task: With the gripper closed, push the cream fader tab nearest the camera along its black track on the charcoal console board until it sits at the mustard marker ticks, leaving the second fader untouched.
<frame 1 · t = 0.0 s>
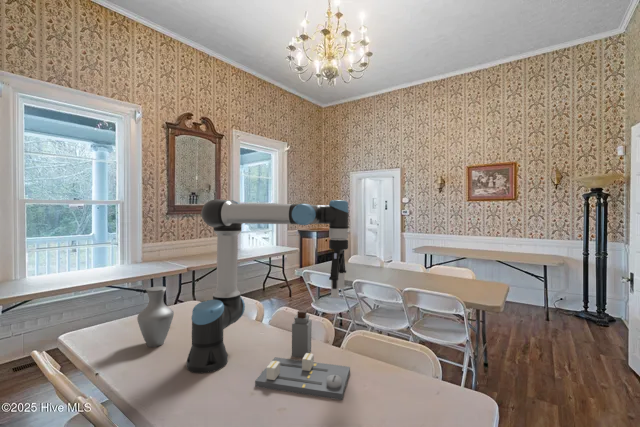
hand: (338, 292, 122), 28 cm above the table, fingers open, 13 cm apart
fader far: (308, 361, 114), point 4 cm above the table, slide at 10.0 cm
console: (304, 379, 110), on the table
perfume bottle: (301, 354, 130), on the table
vase: (155, 344, 138), on the table
fader near: (273, 369, 108), point 4 cm above the table, slide at 0.0 cm
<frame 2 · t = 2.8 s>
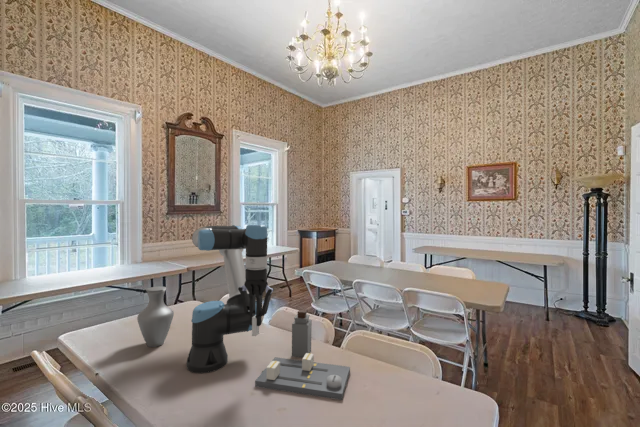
hand: (255, 334, 109), 16 cm above the table, fingers closed
nothing on the table moved.
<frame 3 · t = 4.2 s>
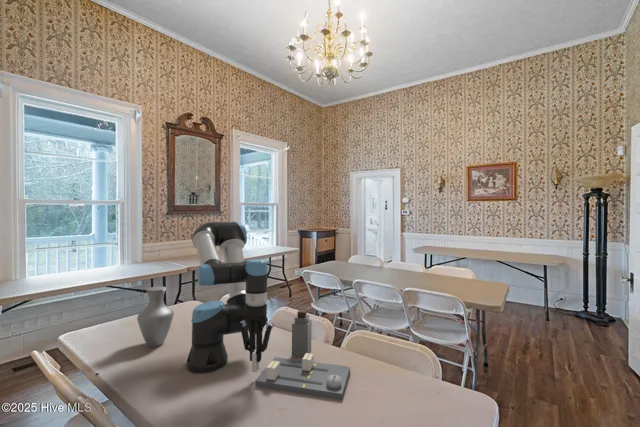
hand: (255, 370, 109), 3 cm above the table, fingers closed
nothing on the table moved.
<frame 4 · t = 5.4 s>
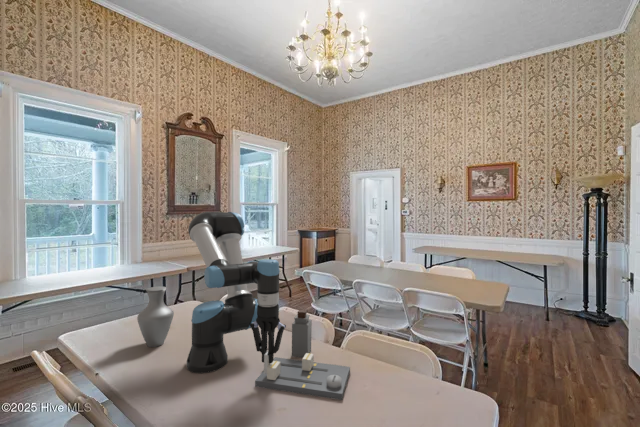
hand: (267, 371, 108), 4 cm above the table, fingers closed
fader near: (273, 370, 108), point 4 cm above the table, slide at 0.2 cm, touching gripper
everything else where it was.
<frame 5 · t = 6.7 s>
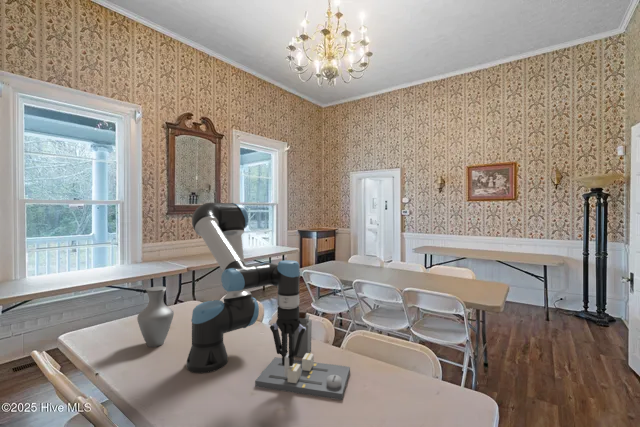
hand: (287, 374, 106), 4 cm above the table, fingers closed
fader near: (294, 372, 106), point 4 cm above the table, slide at 7.7 cm, touching gripper
everything else where it was.
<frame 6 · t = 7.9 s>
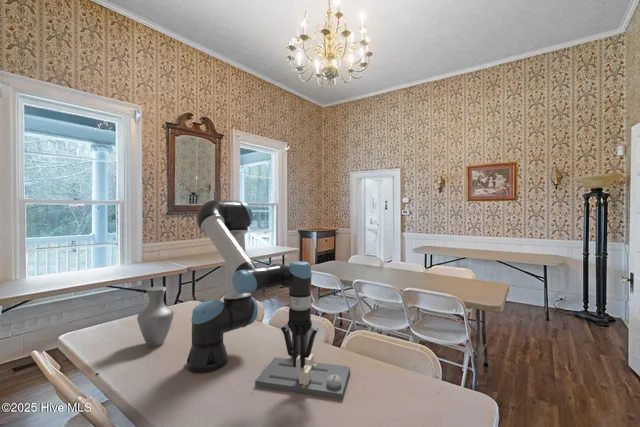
hand: (299, 376, 105), 3 cm above the table, fingers closed
fader near: (305, 374, 105), point 4 cm above the table, slide at 11.7 cm, touching gripper
everything else where it was.
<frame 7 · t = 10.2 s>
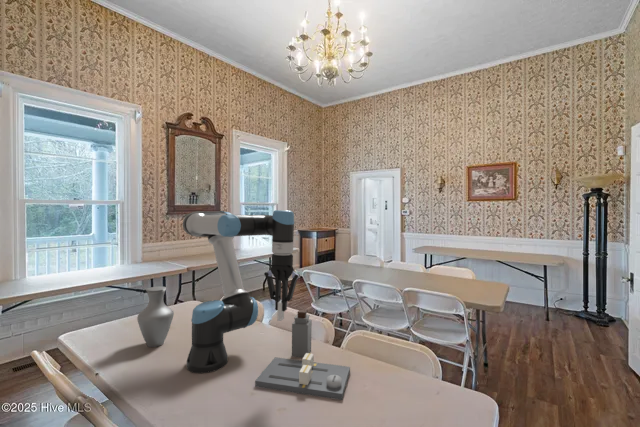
hand: (280, 319, 110), 21 cm above the table, fingers closed
fader near: (305, 374, 105), point 4 cm above the table, slide at 11.7 cm
everything else where it was.
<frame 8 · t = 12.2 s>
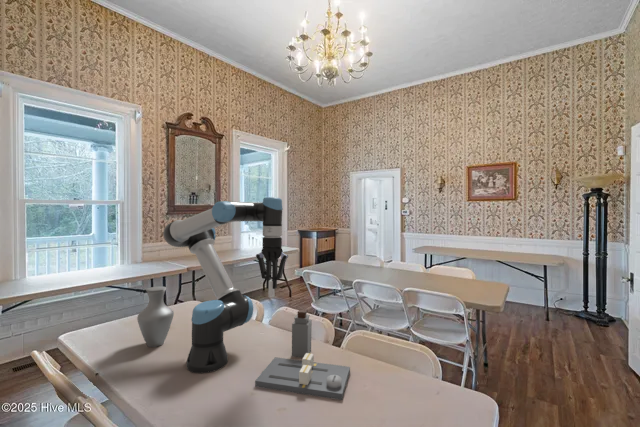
hand: (271, 296, 121), 26 cm above the table, fingers closed
nothing on the table moved.
at the end: fader near slide at 11.7 cm; fader far slide at 10.0 cm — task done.
